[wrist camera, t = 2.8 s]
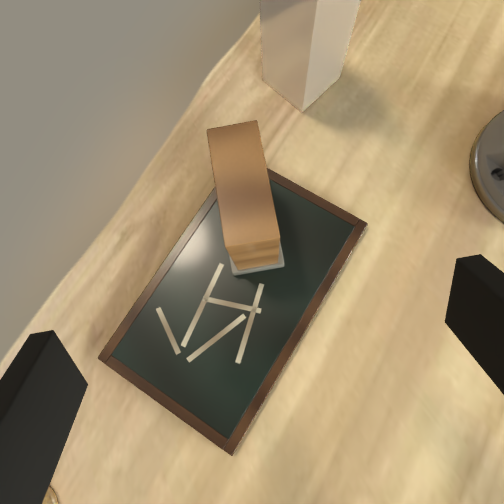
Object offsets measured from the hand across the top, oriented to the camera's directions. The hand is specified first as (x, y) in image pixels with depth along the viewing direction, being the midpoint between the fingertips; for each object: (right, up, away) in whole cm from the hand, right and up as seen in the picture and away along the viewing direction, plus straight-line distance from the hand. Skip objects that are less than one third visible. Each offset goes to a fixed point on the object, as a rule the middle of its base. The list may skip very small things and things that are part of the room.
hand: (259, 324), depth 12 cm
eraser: (0, +5, +25) cm, 25 cm away
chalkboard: (-2, -2, +24) cm, 24 cm away
